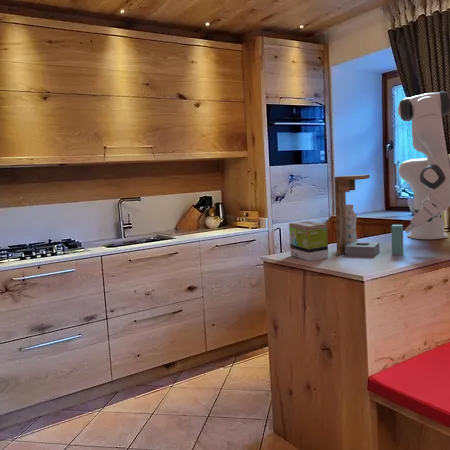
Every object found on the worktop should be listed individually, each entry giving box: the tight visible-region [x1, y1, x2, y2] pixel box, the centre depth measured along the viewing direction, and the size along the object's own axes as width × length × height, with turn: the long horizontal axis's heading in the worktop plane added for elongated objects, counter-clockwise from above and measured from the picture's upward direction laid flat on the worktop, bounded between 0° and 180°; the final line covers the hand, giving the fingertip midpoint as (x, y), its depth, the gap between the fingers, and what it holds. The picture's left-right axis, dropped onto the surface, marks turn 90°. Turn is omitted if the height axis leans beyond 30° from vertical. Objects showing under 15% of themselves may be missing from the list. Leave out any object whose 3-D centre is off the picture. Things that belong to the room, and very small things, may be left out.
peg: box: [390, 224, 404, 256], centre depth 191 cm, size 4×4×12 cm
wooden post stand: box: [334, 174, 371, 256], centre depth 196 cm, size 12×12×34 cm
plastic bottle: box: [346, 204, 359, 244], centre depth 210 cm, size 6×7×20 cm
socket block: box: [344, 241, 381, 257], centre depth 196 cm, size 12×12×4 cm
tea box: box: [288, 220, 329, 262], centre depth 195 cm, size 15×10×15 cm
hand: (407, 230), depth 189 cm, fingers open, 8 cm apart
